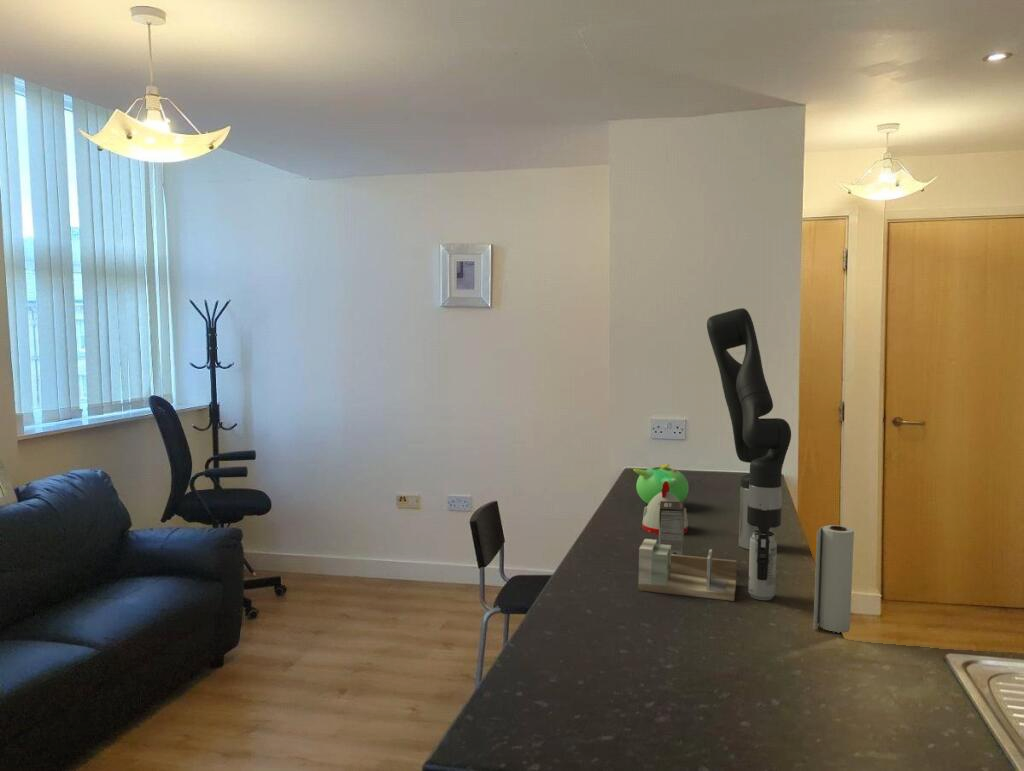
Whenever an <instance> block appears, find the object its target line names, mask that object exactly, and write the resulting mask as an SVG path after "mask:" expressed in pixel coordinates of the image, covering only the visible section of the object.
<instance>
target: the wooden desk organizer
mask: <svg viewBox="0 0 1024 771" xmlns="http://www.w3.org/2000/svg"><path fill="white" fill-rule="evenodd" d="M737 562H738V561H737V560H736V559H735V560H734V559H724V558H715V557H714V558H713V549H712V548H711V549H709V550H708V554H707V557H704V556H694V555H684V554H683V555H674V554H671V545H664V544H659V543H658V539H653V538H652V539H651V538H644V540H643V541H642V543H641V545H640V546H639V548H638V584H637V591H640V592H641V591H642V592H652V593H658V594H659V593H660V594H668V595H669V594H670V595H678V596H687V597H695V598H696V597H697V598H705V599H713V600H714V599H715V600H724V601H729V602H730V601H732V602H734V601H735V597H736V596H735V594H736V587H737V565H738V564H737Z"/></svg>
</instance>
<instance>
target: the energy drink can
mask: <svg viewBox="0 0 1024 771" xmlns="http://www.w3.org/2000/svg"><path fill="white" fill-rule="evenodd" d="M755 533H758V532H755V531H754V532H753V535H752V537H751V538H750V550H749V552H748V553H749V555H748V556H749V558H748V566H749V567H748V589H747V592H748V593H749V594H750V597H751V598H752V599H755V600H759V601H771V600H772V599H773V598H774V596H776V587H777V586H776V584H777V582H776V580H777V556H778V554H777V553H778V552H777V550H778V541H777V539H776V536H775V533H774V532H773V533H772V534H771V533H769V534H771V535H773V537H772V542H771V554H770V555H769V563H768V573H767V580H766V581H764V580H758V579H757V568H758V564H757V562H756V561H757V553H756V552H755V544H756V541H755ZM757 536H759V535H757ZM770 537H771V536H769V538H770ZM757 540H758V539H757ZM769 541H770V540H769ZM757 544H758V542H757ZM769 545H770V543H769ZM765 547H766V545H765ZM759 558H766V555H765V554H760V555H759Z"/></svg>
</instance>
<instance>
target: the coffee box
mask: <svg viewBox="0 0 1024 771" xmlns="http://www.w3.org/2000/svg"><path fill="white" fill-rule="evenodd" d="M684 508H685V501H683V502H671V501H660V513H659V534H658V544H664V545H671V554H674V555H684V548H685V547H684V546H685V544H684V543H685V540H684V539H685V533H684Z"/></svg>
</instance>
